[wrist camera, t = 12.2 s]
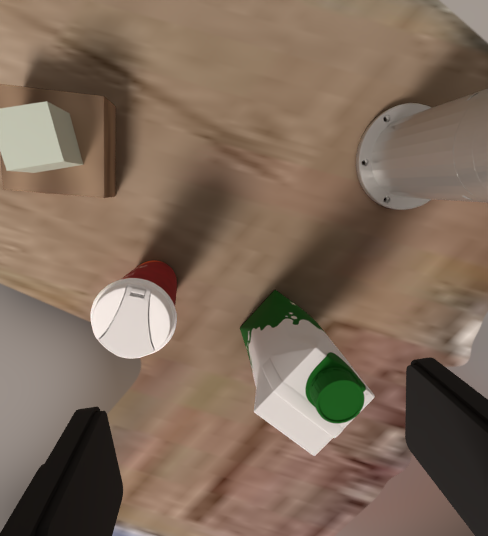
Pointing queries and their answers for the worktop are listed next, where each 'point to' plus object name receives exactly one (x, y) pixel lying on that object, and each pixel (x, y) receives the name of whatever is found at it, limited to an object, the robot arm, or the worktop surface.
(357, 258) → the worktop surface
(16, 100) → the walnut block
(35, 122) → the sage block
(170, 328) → the paper cup
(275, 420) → the milk carton
